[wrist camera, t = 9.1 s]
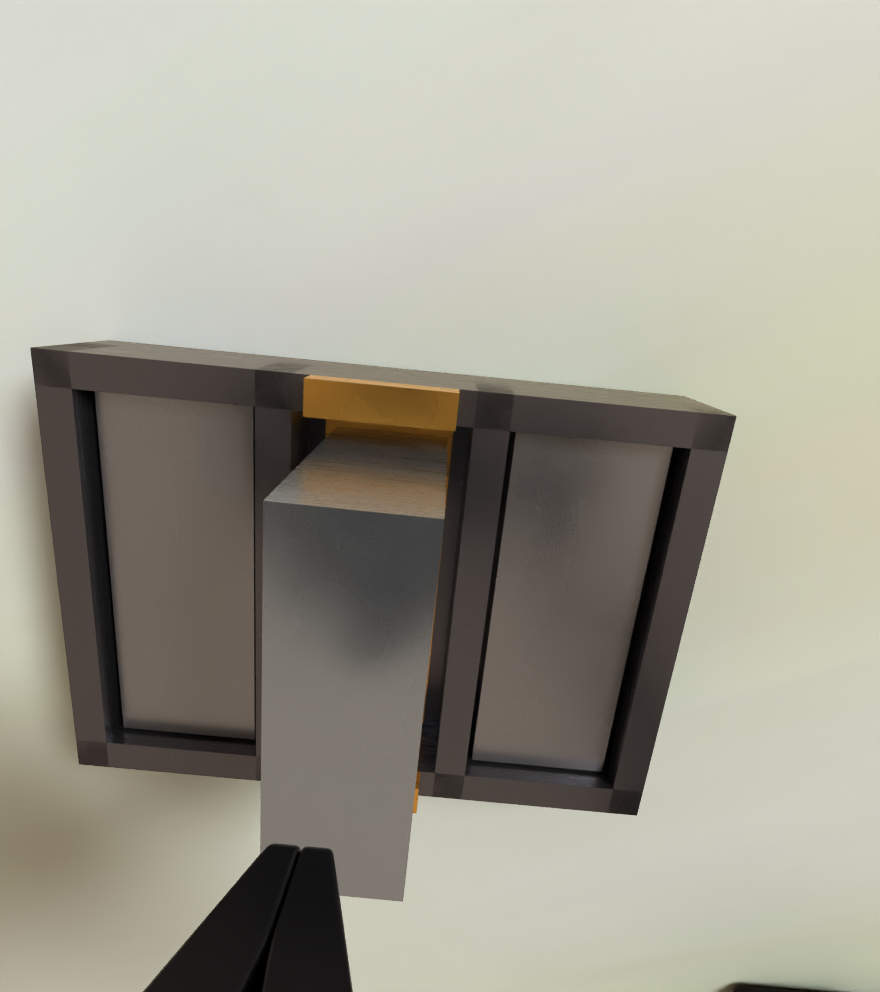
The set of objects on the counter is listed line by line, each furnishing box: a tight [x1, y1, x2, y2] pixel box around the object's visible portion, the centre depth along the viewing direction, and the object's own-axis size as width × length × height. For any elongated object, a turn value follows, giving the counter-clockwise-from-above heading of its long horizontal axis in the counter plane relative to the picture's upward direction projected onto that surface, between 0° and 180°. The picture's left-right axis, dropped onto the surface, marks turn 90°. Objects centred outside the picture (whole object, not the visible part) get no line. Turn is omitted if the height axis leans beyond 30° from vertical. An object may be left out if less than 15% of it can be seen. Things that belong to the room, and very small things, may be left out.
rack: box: [31, 340, 736, 815], centre depth 15 cm, size 11×15×4 cm
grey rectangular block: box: [260, 426, 448, 901], centre depth 13 cm, size 8×3×6 cm, turn 174°
